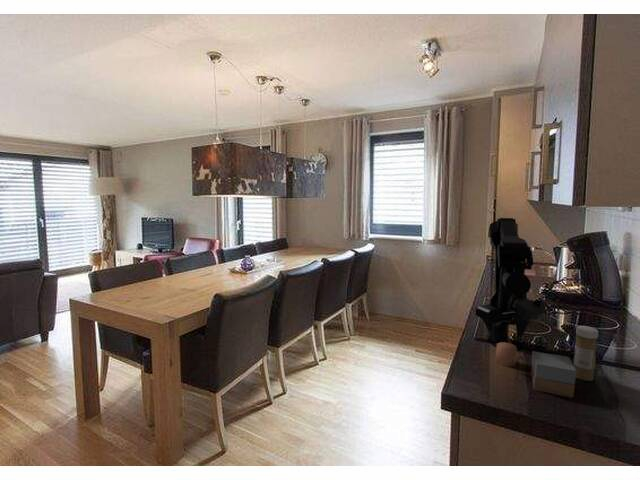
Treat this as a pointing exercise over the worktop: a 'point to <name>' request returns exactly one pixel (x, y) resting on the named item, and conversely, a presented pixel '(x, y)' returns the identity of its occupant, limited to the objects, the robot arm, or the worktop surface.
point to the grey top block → (553, 367)
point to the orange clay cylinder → (506, 354)
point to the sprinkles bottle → (585, 352)
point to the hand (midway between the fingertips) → (507, 339)
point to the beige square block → (552, 386)
